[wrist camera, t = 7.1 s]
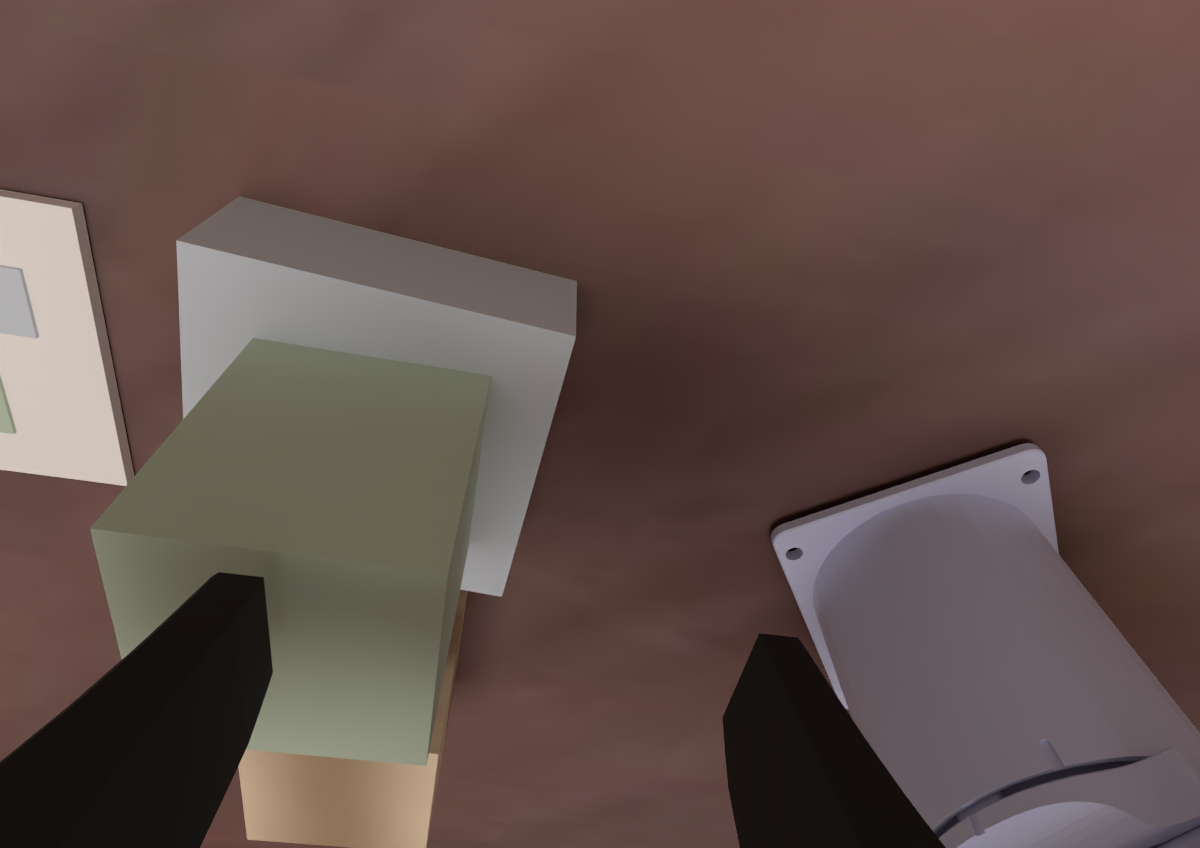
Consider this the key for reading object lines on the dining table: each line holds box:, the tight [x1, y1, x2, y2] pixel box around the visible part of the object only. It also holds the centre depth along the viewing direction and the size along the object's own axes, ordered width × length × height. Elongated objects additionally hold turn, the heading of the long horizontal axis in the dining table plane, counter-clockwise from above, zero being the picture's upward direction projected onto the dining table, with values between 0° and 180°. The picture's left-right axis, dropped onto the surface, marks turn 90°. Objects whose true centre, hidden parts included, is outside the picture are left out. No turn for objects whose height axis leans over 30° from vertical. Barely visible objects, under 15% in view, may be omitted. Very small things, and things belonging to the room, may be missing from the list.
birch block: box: [238, 589, 468, 848], centre depth 22 cm, size 5×5×6 cm
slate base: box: [176, 196, 577, 597], centre depth 18 cm, size 8×8×4 cm
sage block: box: [90, 338, 491, 766], centre depth 14 cm, size 5×5×6 cm
